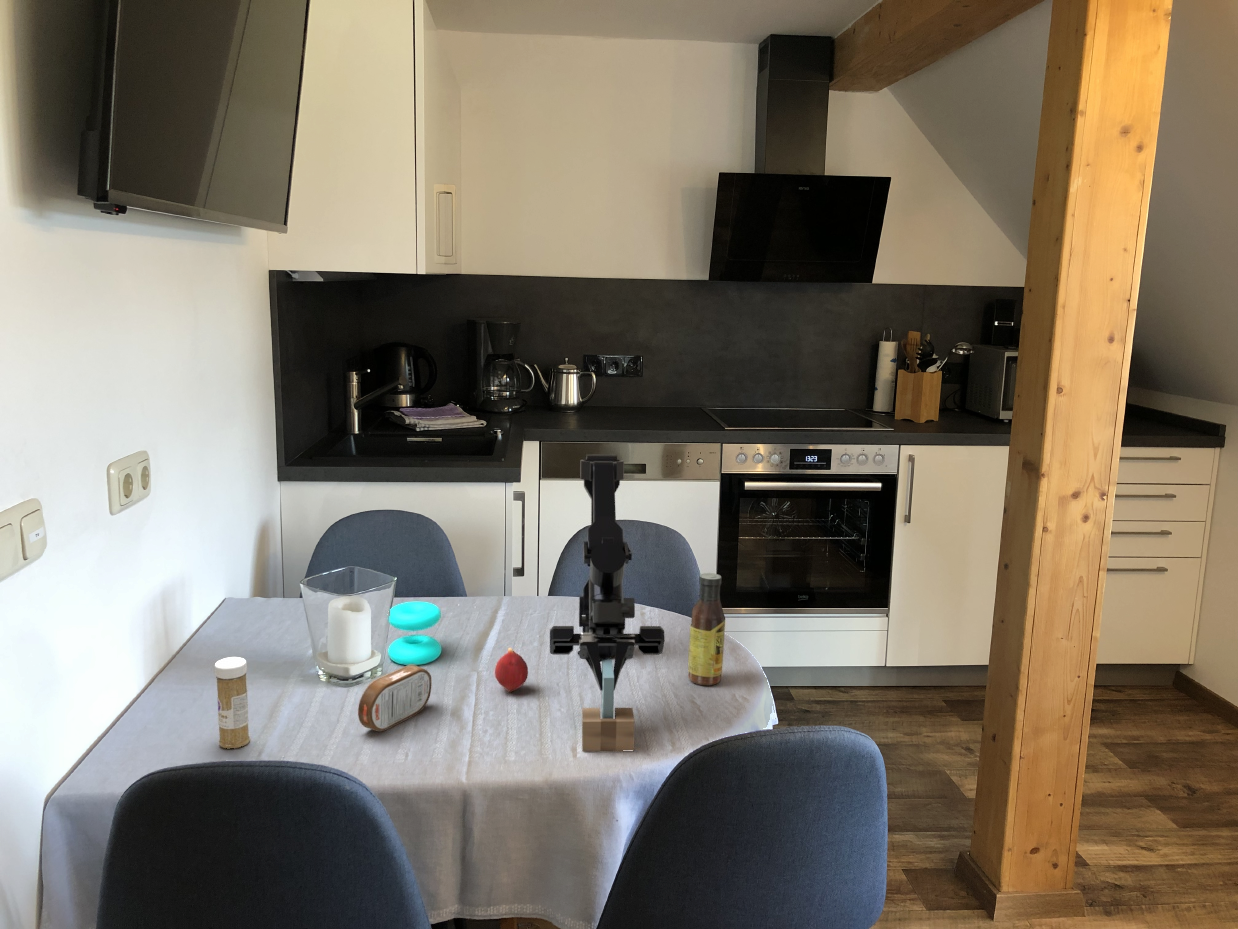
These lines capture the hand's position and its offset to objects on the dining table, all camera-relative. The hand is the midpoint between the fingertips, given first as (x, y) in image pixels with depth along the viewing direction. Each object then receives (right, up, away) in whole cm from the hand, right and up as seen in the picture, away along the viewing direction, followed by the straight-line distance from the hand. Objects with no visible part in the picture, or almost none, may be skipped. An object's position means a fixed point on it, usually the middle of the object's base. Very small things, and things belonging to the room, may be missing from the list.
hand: (607, 689), depth 158 cm
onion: (-17, -4, +17) cm, 25 cm away
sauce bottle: (+18, -4, +24) cm, 30 cm away
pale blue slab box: (0, -7, +1) cm, 8 cm away
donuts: (-37, -1, +32) cm, 49 cm away
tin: (-35, -6, +5) cm, 36 cm away
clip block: (0, -8, -2) cm, 8 cm away
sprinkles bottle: (-58, -8, -4) cm, 59 cm away
